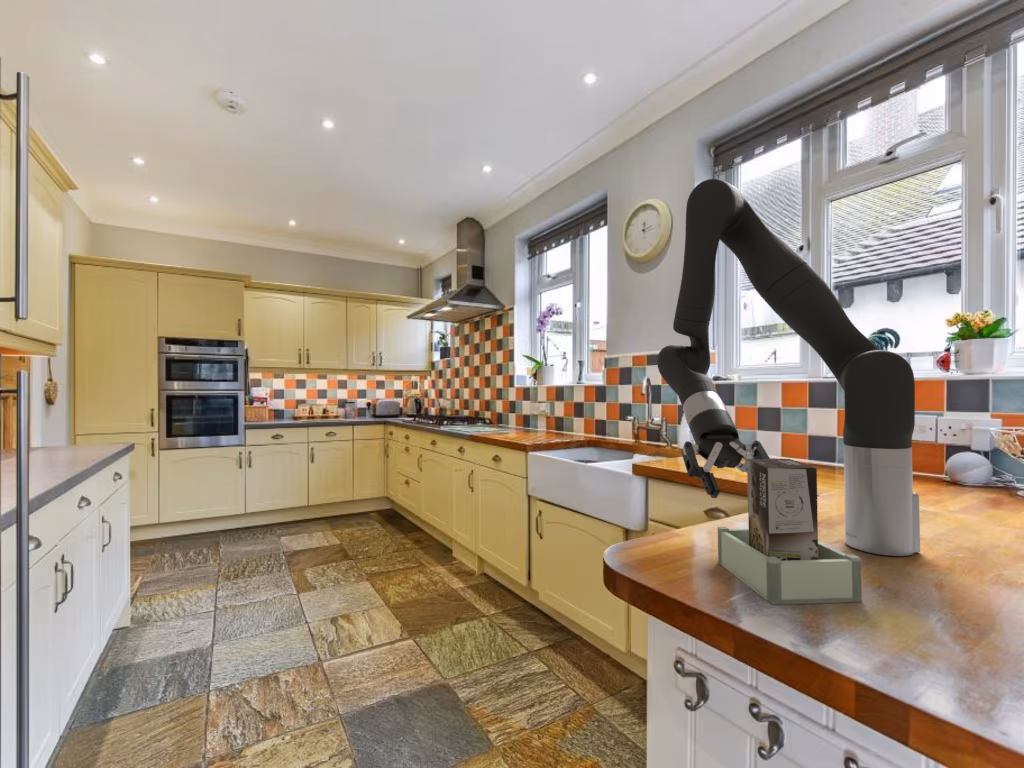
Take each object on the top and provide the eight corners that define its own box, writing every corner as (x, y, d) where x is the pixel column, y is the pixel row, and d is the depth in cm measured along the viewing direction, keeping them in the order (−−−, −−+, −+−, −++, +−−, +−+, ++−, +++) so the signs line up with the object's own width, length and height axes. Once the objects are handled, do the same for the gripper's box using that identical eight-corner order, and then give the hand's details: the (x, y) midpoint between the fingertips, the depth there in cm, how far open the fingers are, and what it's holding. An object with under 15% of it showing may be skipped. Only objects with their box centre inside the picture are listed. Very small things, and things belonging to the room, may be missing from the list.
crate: (790, 560, 75) (789, 525, 75) (861, 601, 61) (860, 557, 61) (718, 562, 75) (717, 526, 75) (772, 604, 60) (771, 560, 60)
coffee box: (821, 590, 63) (819, 467, 63) (769, 587, 64) (766, 466, 64) (793, 565, 72) (791, 457, 72) (747, 562, 73) (745, 457, 73)
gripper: (677, 407, 87) (706, 483, 76) (753, 406, 88) (793, 481, 76) (666, 433, 92) (692, 508, 81) (738, 432, 93) (774, 506, 81)
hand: (741, 495), depth 79 cm, fingers open, 8 cm apart
